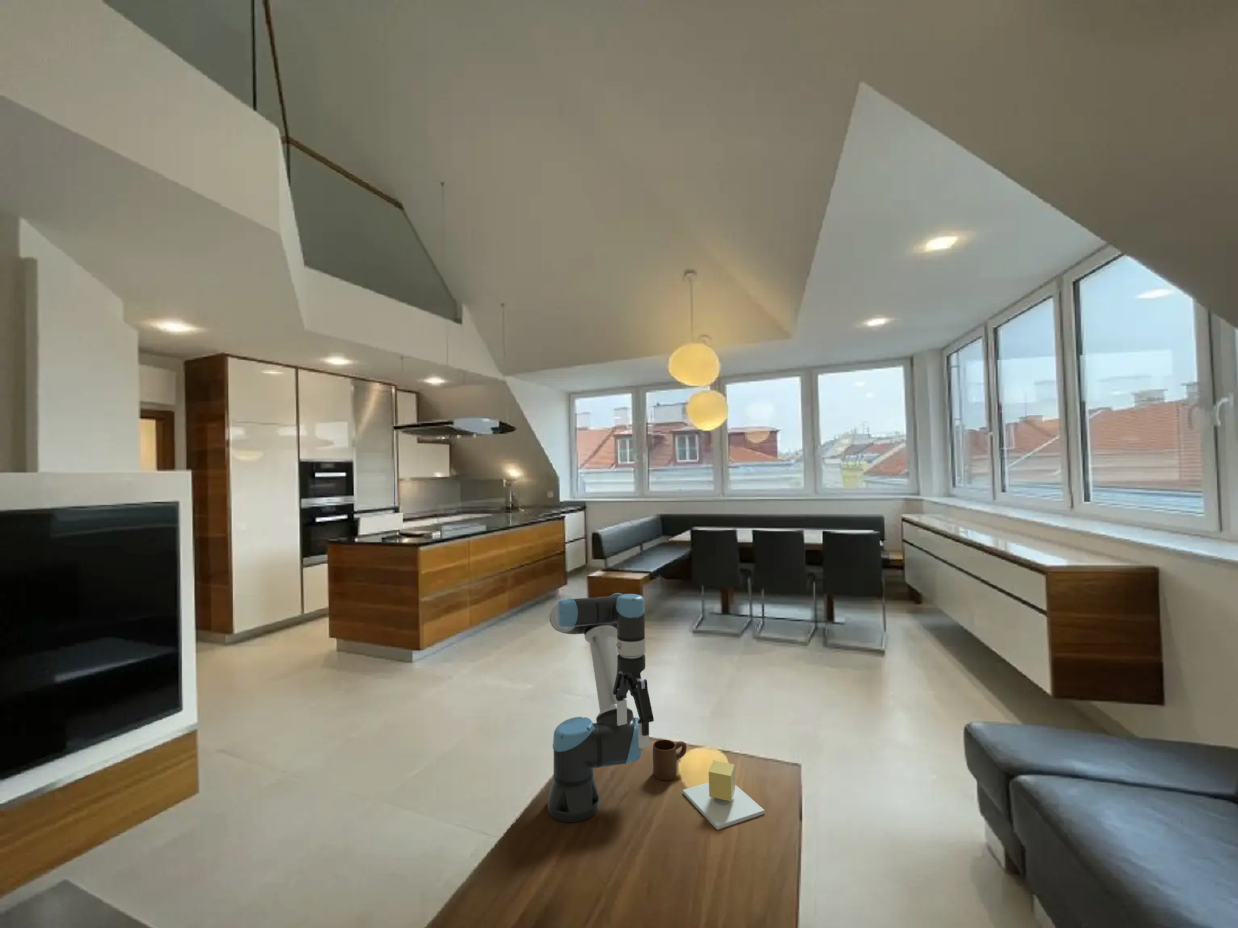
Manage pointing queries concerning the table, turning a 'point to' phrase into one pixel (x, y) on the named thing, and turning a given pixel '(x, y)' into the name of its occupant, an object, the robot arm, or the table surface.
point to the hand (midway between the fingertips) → (632, 735)
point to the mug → (666, 758)
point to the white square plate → (723, 806)
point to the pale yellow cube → (722, 780)
